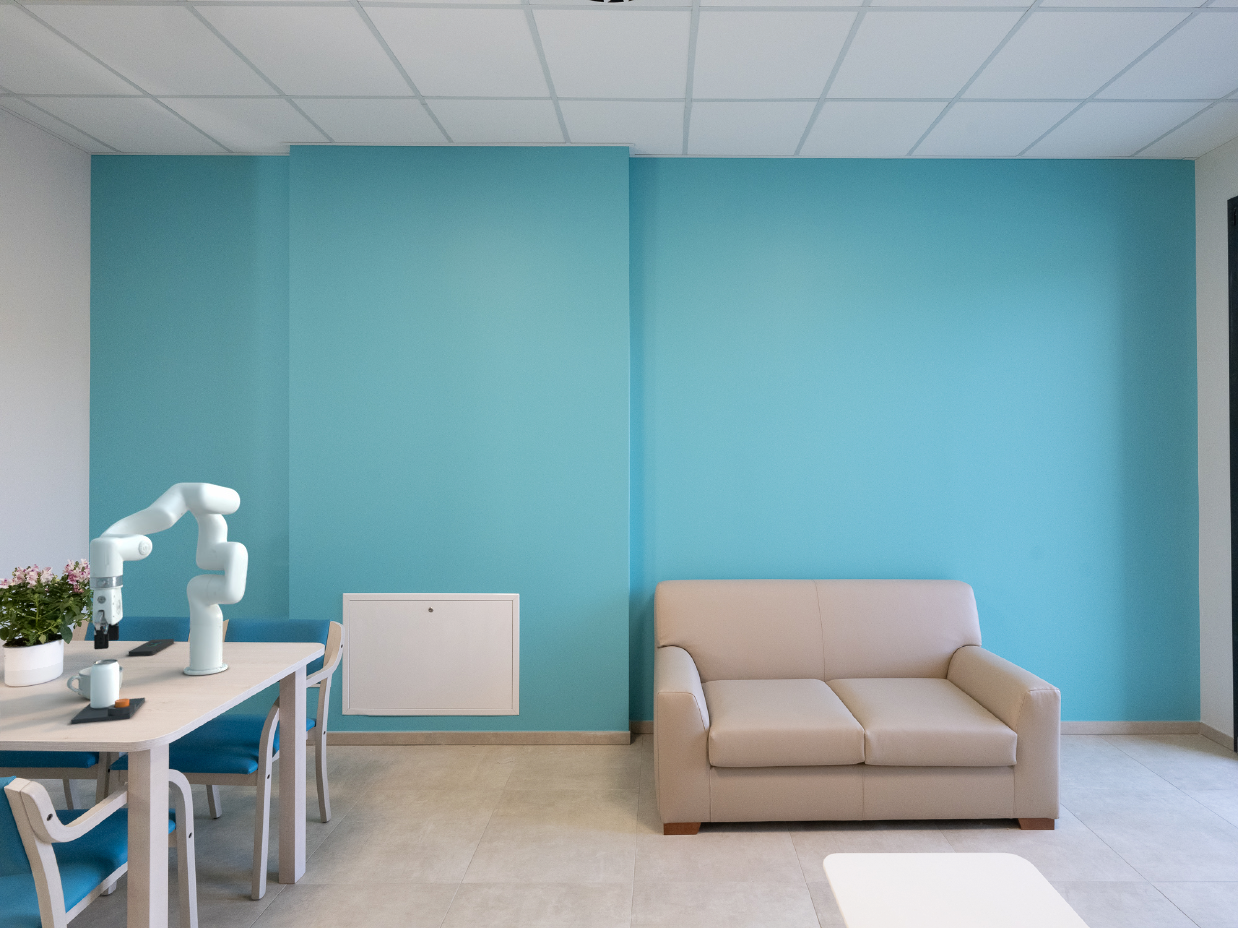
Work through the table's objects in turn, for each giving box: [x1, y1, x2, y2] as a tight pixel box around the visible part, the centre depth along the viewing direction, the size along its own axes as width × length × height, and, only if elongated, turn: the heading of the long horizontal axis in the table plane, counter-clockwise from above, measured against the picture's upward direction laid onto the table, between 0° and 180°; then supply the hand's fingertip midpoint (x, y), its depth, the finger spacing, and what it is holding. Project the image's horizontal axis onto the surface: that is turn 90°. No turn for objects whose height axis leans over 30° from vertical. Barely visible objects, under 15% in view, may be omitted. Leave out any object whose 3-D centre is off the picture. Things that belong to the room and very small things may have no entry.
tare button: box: [115, 698, 130, 708], centre depth 199 cm, size 3×3×2 cm
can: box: [89, 658, 120, 709], centre depth 204 cm, size 6×6×12 cm
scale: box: [70, 697, 146, 725], centre depth 202 cm, size 16×14×3 cm
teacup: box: [66, 665, 124, 700], centre depth 215 cm, size 14×11×8 cm
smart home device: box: [128, 638, 175, 657], centre depth 275 cm, size 8×2×20 cm
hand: (106, 644), depth 205 cm, fingers open, 9 cm apart
